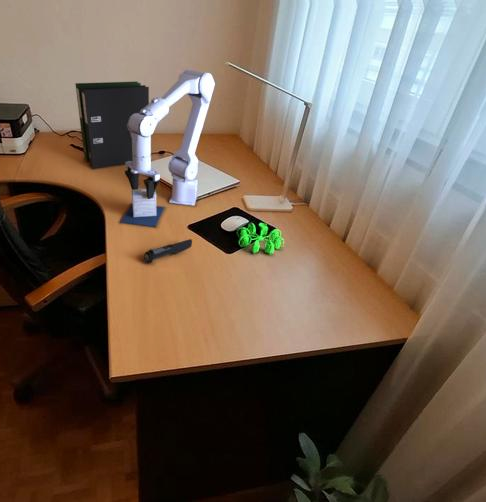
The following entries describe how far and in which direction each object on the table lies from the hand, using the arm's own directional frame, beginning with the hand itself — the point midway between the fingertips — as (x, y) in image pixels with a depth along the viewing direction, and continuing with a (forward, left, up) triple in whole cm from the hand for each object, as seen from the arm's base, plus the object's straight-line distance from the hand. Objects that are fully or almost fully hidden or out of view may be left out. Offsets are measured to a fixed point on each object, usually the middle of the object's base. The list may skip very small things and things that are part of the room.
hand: (142, 194), depth 117 cm
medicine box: (0, 0, -8) cm, 8 cm away
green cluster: (-40, +9, -8) cm, 42 cm away
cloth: (0, 0, -8) cm, 8 cm away
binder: (+25, -48, -8) cm, 55 cm away
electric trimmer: (-13, +21, -8) cm, 26 cm away
